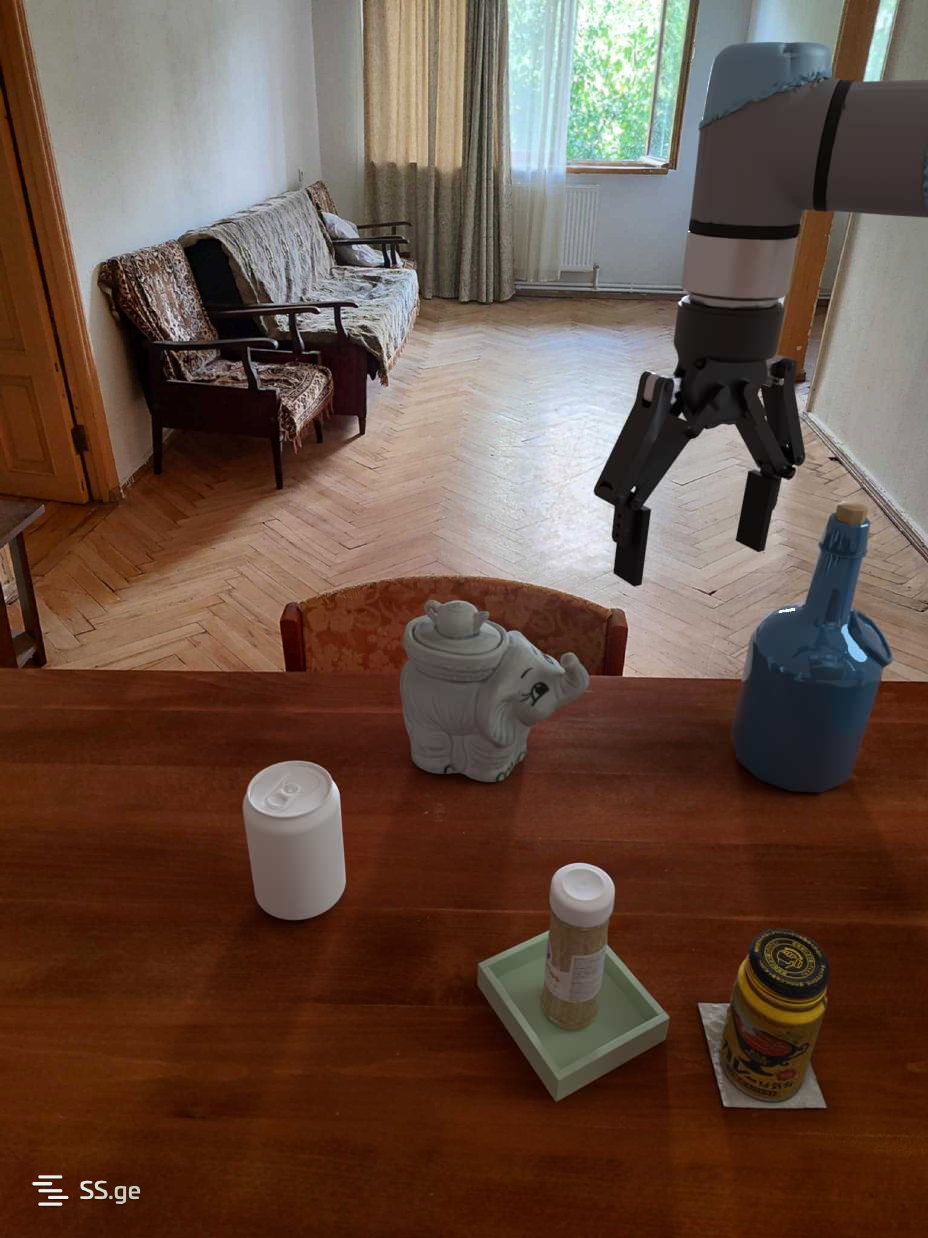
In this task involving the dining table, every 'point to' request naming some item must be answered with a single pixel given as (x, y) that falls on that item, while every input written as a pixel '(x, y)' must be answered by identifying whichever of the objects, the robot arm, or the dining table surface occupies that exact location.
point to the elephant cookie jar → (477, 691)
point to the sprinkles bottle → (576, 944)
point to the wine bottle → (813, 672)
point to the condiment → (770, 1024)
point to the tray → (561, 1053)
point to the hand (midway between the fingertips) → (690, 562)
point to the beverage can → (295, 840)
